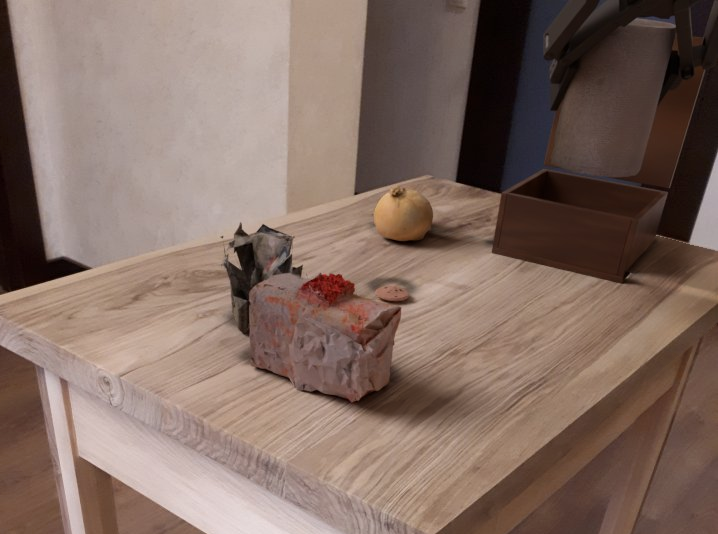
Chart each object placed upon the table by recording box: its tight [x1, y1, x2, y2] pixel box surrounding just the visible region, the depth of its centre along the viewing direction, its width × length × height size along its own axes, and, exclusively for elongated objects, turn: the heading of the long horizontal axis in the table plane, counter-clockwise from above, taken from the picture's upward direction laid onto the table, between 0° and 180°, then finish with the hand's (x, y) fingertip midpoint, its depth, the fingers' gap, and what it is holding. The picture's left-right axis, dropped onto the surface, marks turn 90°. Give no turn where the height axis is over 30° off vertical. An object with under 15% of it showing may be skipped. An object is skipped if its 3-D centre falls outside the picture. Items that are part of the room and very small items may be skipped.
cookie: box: [374, 285, 411, 302], centre depth 91 cm, size 4×4×1 cm
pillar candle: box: [550, 17, 677, 178], centre depth 82 cm, size 10×10×15 cm
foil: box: [220, 221, 309, 334], centre depth 85 cm, size 12×11×15 cm
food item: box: [248, 272, 402, 403], centre depth 71 cm, size 14×8×10 cm, turn 58°
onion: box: [373, 185, 434, 242], centre depth 107 cm, size 8×8×7 cm
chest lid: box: [543, 34, 706, 189], centre depth 106 cm, size 18×18×1 cm
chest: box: [491, 168, 669, 284], centre depth 107 cm, size 17×18×8 cm
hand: (600, 102), depth 85 cm, fingers closed on pillar candle, 9 cm apart
